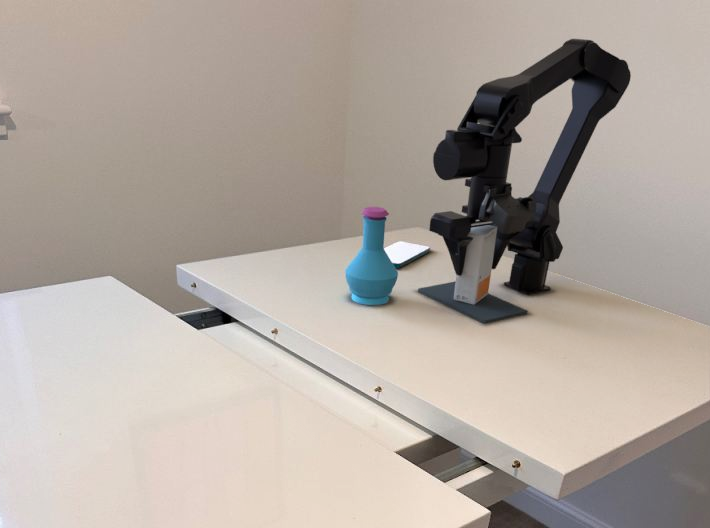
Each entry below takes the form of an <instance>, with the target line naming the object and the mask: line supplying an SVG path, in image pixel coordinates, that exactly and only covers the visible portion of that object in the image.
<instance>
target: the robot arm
mask: <svg viewBox="0 0 710 528" xmlns="http://www.w3.org/2000/svg"><path fill="white" fill-rule="evenodd" d="M631 77H632V75H631V70H630V69H629V64H628V62H627V61H626V60H625V59H620V58H619V57H618V56H616V55H614V54H612V53H610V52H609V51H607V50H605V49H603V48H601V46H599V44H598V43H597V42H595V41H594V40H591V39H582V38H570V39H568V40H566V41H564V43H563V44H562V45H561V46H560V47H559V48H556V50H554V51H553V52H551V53H549V54H548V55H546V56H544V57H543V58H542V59H539V60H538V61H537V62H535V63H534V64H532V65H531V66H529V67H527V68H525V69H524V70H523V71H521V72H520V73H518V74H515V75H511V76H507V77H506V76H505V77H500V78H496V79H494V80H491V81H488V82H485V83H483V84H482V85H481V86H480V87H478V89H477V90H476V93H475V96H474V98H473V99H472V100H473V101H471V104H470V105H469V106H468V108H467V110H466V112H465V114H464V116H463V118H462V119H461V120H460V123H459V124H458V126H457V128H456V129H457V130H456V129H447V130H446V131H445V135H444V139H442V140H441V141H440V142H439V143H438V144H437V146H436V148H435V151H434V152H433V156H432V163H433V168H434V171H435V173H436V175H437V177H439V179H441V180H442V181H453V180H461V179H465V181H464V186H465V187H467V188H469V190H468V198H467V199H468V200H467V204H465V205H462V206H461V213H463V214H466V215H463V214H461V213H457V212H455V211H452V210H450V211H449V210H448V211H442V212H434V214H433V215H432V216H431V217H430V220H429V230H428V231H429V232H432V233H435V234H437V235H438V236H440V237H442V239H443V241H444V244H445V247H446V248H447V251H448V253H449V256H450V260H451V263H452V266H453V269H454V273H455V275H459V276H461V275H462V272H463V268H464V262H465V256H466V249H467V245H468V244H469V243H470V242H471V241H472V240H473V238H472V237H470V236H468V234H469V233H470V231H471V228H472V227H479V226H486V225H491V226H496V227H497V234H496V241H495V248H494V255H493V263H492V270H496V269H497V268H498V265H499V263H500V261H501V259H502V257H503V255H504V253H505V251H506V249H507V251H508V252H512V253H515V254H514V258H513V263H512V264H511V269H510V276H509V281H505V282H503V286H505V287H507V288H509V289H512V290H513V291H516V292H519V293H521V294H523V295H527V296H529V295H534V294H539V293H543V292H548V291H551V289H552V286H549V285H548V284H547V285H546V281H547V276H548V273H549V272H548V271H549V267H550V263H553V262H555V261H556V260H559V259H560V257H561V254H562V252H563V249H564V246H563V244H562V242H561V240H560V238H559V235H558V234H557V231H558V229H559V225H560V223H561V222H560V221H561V219H560V218H561V217H560V203H561V201H562V198H563V197H564V194H565V192H566V190H567V188H568V186H569V184H570V183H571V180H572V178H573V176H574V173H575V171H576V170H577V167H578V165H579V163H580V161H581V159H582V157H583V155H584V153H585V151H586V149H587V146H588V144H589V142H590V140H591V138H592V136H593V134H594V132H595V129H596V128H597V126H598V123H599V122H600V121H601V119H603V118H604V117H606V116H607V115H608V114H609V113H610V112H612V110H614V109H615V108H616V107H617V105H618V104H619V102H620V100H621V99H622V97H623V96H624V94H625V92H626V91H627V90H628V89H627V88H628V87H629V85H630V82H631ZM569 80H571V81H572V82H573V83H572V84H573V85H572V87H571V107H572V108H571V111H570V113H569V115H568V118H567V119H566V122H565V123H564V126H563V128H562V129H561V132H560V135H559V137H558V138H557V141H556V143H555V145H554V147H553V149H552V152H551V154H550V156H549V157H548V159H547V162H546V164H545V167H544V168H543V170H542V173H541V176H540V177H539V179H538V182H537V183H536V186H535V188H534V190H533V191H532V193H531V194H530V195H528V196H527V197H526V196H525V197H521V196H519V197H517V198H515V197H514V196H512V190H513V187H512V182H507V180H508V175H509V174H508V173H509V166H510V160H511V152H512V146H513V144H520V143H522V140H523V138H522V137H521V135H520V133H518V131H517V129H516V127H518V126H519V125H520V124H521V123H522V122H523V121H524V120H525V119H527V117H528V116H529V115H530V114H531V112H532V108H533V105H534V104H535V103H536V102H537V101H539V100H540V99H542V98H543V97H546V95H548V94H549V93H551V92H553V91H554V90H556V89H558V87H560V86H562V85H563V84H565V83H567V81H569Z"/></svg>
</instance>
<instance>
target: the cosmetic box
mask: <svg viewBox="0 0 710 528" xmlns="http://www.w3.org/2000/svg"><path fill="white" fill-rule="evenodd" d="M496 234H497V227H496V226H491V225H486V226H479V227H472V228H471V231H470V233H469V234H468V236H470V237H472V238H473V240H472V241H471V242H470V243H469V244H468V245H467V249H466V256H465V262H464V268H463V272H462V275H461V276H459V275H456V274H455V275H456V276H455V281H456V283H455V292H454V300H456V301H460V302H465V303H469V304H473V305H475V304H476V303H477V302H478V301H480V300H481V299H482V298H484V297H485V296H486V295H488V294H489V291H490V284H491V283H490V282H491V278H492V277H491V276H492V270H493V269H492V263H493V255H494V248H495V241H496Z"/></svg>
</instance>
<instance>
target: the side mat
mask: <svg viewBox="0 0 710 528" xmlns="http://www.w3.org/2000/svg"><path fill="white" fill-rule="evenodd" d="M455 283H456V280H455V281H451V282H445V283H440V284H436V285H430V286H424V287H420V288H418V289H417V292H418V293H420V294H421V295H424V296H426V297H427V298H430V299H432V300H434V301H436V302H438V303H440V304H443V305H444V306H446V307H449V308H451V309H452V310H454V311H456V312H459V313H461V314H463V315H465V316H468V317H470V318H471V319H474V320H476V321H478V322H479V323H482V324H484V325H486V324H489V323H494V322H498V321H503V320H507V319H511V318H516V317H519V316H524V315H527V314H528V310H527V309H524V308H523V307H520V306H518V305H516V304H514V303H511V302H508V301H507V300H504V299H502V298H500V297H497V296H495V295H493V294H490V293H488V295H486V296H485V297H484V298H482V299H481V300H480V301H478V302H477V303H476V304H475V305H473V304H469V303H465V302H460V301H456V300H454V292H455Z"/></svg>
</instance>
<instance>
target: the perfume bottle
mask: <svg viewBox="0 0 710 528" xmlns="http://www.w3.org/2000/svg"><path fill="white" fill-rule="evenodd" d="M360 214H361V215H363V217H362V220H363V232H362V233H363V234H362V247H361V249H360V250H359V251H358V253H357V254H356V255H355V256H354V258H353V259H352V260H351V261H350V263H349V264H348V265H347V267H346V268H345V271H344V272H345V279H346V283H347V286H348V290H349V291H350V292H351V293H352V294H351V300H352V301H353V302H355V303H357V304H360V305H366V306H380V305H384V304H386V303H388V302H389V300H390V296H389V295H391V294H392V292H393V288H394V287H395V286H396V283H397V280H398V276H399V272H398V270H397V267H395V266H394V265H393V263H392V262H391V260H390V258H389V257H388V255H387V253H386V252H385V250H384V248H385V229H386V221H387V216H389V215H390V213H389V212H388V210H387V209H385V208H384V207H379V206H367V207H365V208H364V209H363V210H362V211H361V212H360Z"/></svg>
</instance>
